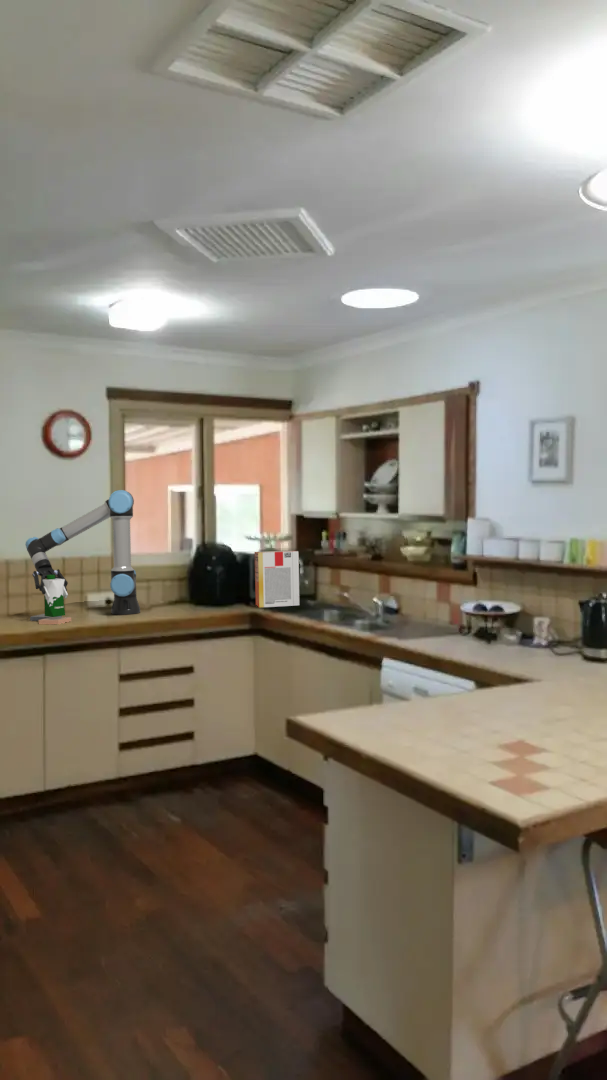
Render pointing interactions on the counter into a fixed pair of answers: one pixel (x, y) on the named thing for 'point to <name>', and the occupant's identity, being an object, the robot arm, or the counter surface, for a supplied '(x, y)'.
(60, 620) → the terracotta tile
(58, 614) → the soya milk
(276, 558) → the pasta box
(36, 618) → the slate tile
